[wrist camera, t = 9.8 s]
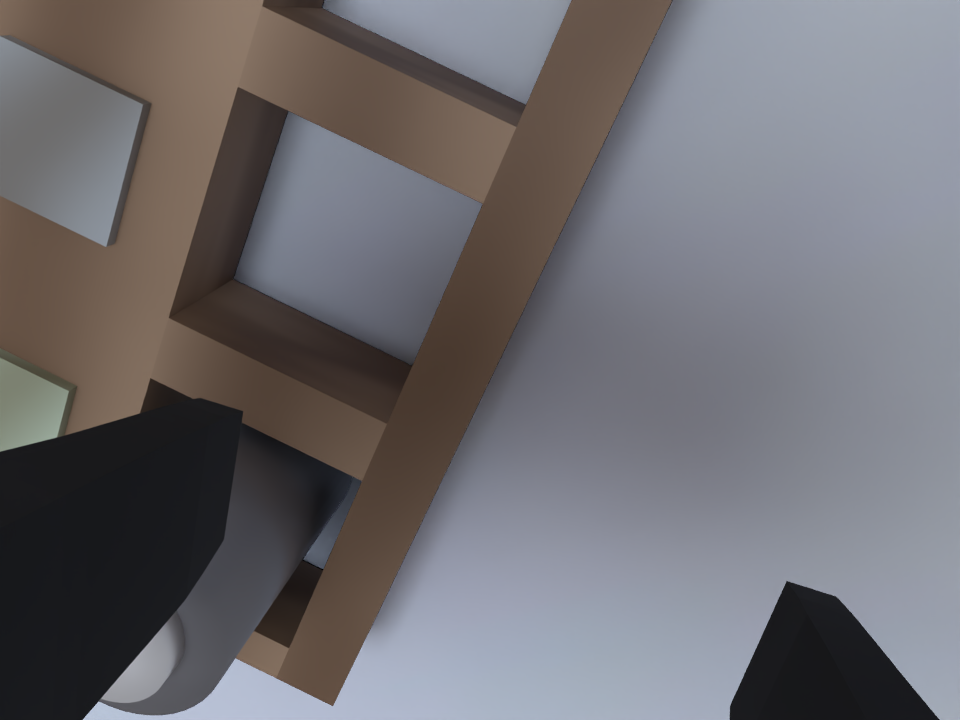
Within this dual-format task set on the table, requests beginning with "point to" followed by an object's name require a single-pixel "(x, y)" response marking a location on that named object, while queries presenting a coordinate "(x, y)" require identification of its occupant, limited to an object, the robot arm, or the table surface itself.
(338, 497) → the plug
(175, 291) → the socket board
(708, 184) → the table surface
